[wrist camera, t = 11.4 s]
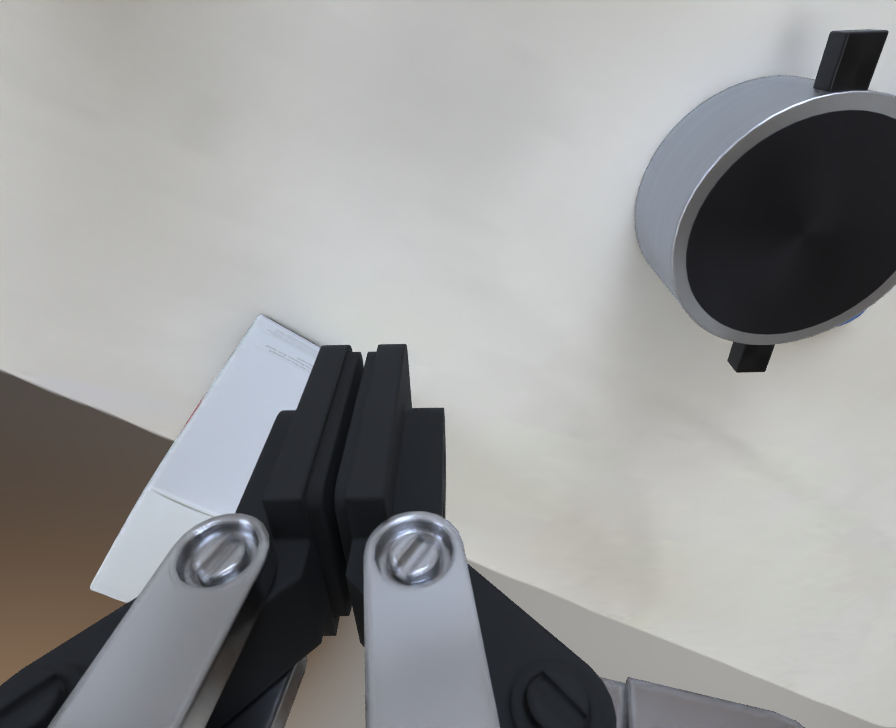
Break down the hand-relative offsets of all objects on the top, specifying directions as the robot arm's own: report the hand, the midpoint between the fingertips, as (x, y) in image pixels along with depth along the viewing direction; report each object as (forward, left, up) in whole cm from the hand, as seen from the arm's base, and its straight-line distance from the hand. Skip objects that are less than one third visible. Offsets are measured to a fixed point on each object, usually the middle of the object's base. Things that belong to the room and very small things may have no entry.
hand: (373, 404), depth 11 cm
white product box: (+15, -10, -21) cm, 28 cm away
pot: (+2, +18, -21) cm, 28 cm away
